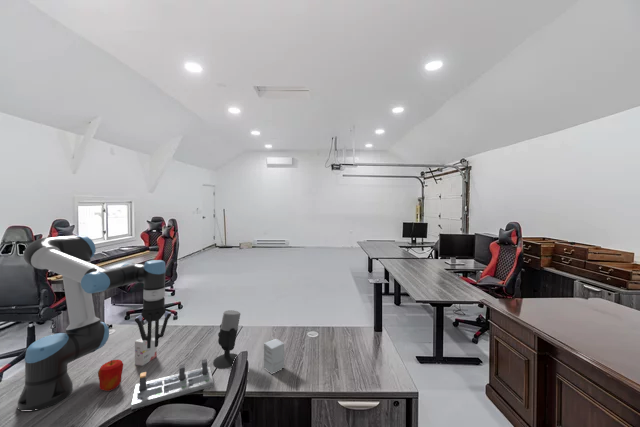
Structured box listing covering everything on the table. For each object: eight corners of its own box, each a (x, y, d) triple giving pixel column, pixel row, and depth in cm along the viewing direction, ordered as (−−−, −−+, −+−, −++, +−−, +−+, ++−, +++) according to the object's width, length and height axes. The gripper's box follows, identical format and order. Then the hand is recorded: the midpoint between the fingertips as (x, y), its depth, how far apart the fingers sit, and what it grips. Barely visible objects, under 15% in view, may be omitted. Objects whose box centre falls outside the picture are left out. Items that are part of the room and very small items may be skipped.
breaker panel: (131, 409, 98) (131, 400, 98) (135, 389, 109) (136, 380, 109) (213, 386, 112) (213, 377, 112) (209, 370, 124) (209, 362, 124)
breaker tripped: (137, 394, 103) (138, 377, 103) (138, 390, 106) (139, 373, 106) (146, 392, 105) (147, 375, 105) (147, 388, 107) (147, 371, 107)
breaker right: (200, 377, 114) (201, 363, 114) (200, 374, 117) (200, 360, 117) (208, 376, 116) (208, 361, 116) (207, 372, 118) (207, 358, 118)
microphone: (245, 361, 132) (246, 312, 132) (220, 372, 122) (221, 319, 122) (232, 351, 140) (233, 305, 140) (208, 361, 131) (209, 312, 131)
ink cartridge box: (148, 355, 135) (149, 327, 135) (156, 356, 134) (157, 328, 134) (133, 364, 126) (134, 334, 126) (142, 366, 125) (143, 336, 126)
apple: (106, 381, 114) (106, 355, 114) (127, 380, 115) (128, 353, 115) (92, 395, 105) (93, 366, 105) (115, 393, 106) (116, 365, 106)
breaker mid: (177, 384, 110) (178, 369, 110) (177, 380, 113) (178, 365, 113) (185, 382, 111) (186, 367, 111) (185, 378, 114) (185, 363, 114)
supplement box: (275, 362, 131) (276, 337, 131) (284, 369, 126) (284, 343, 126) (262, 368, 126) (263, 342, 126) (271, 375, 120) (272, 348, 120)
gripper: (133, 303, 100) (132, 363, 100) (172, 298, 107) (170, 355, 107) (136, 297, 107) (134, 354, 107) (172, 293, 113) (170, 347, 113)
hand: (152, 354), depth 107 cm, fingers closed
